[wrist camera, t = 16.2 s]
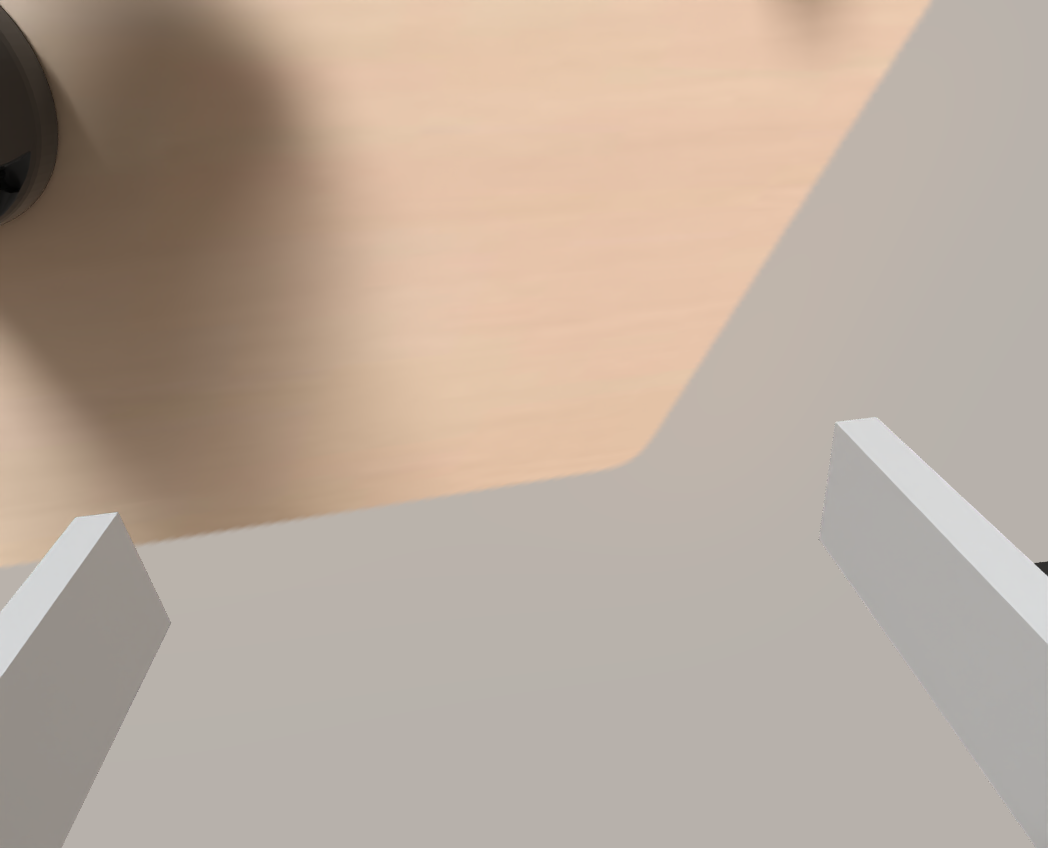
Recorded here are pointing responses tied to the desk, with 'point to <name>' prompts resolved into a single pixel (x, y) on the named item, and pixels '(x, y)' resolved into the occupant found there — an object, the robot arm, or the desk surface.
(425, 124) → the desk surface
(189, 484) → the desk surface
